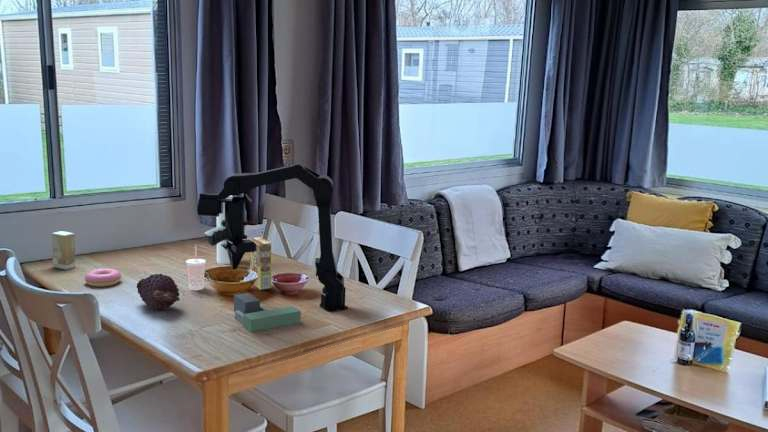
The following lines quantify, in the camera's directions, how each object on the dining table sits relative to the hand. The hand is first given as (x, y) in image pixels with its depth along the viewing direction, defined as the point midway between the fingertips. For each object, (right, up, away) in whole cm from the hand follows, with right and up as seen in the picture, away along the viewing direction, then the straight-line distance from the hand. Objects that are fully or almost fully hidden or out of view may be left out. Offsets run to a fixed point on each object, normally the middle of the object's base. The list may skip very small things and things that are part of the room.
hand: (234, 269), depth 199 cm
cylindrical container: (-14, -1, +50) cm, 52 cm away
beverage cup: (-16, -8, +17) cm, 25 cm away
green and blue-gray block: (+11, -14, -9) cm, 20 cm away
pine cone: (-22, -11, -2) cm, 24 cm away
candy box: (+4, -7, +23) cm, 24 cm away
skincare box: (-66, -2, +34) cm, 74 cm away
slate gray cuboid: (+5, -13, -4) cm, 14 cm away
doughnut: (-46, -6, +19) cm, 50 cm away
